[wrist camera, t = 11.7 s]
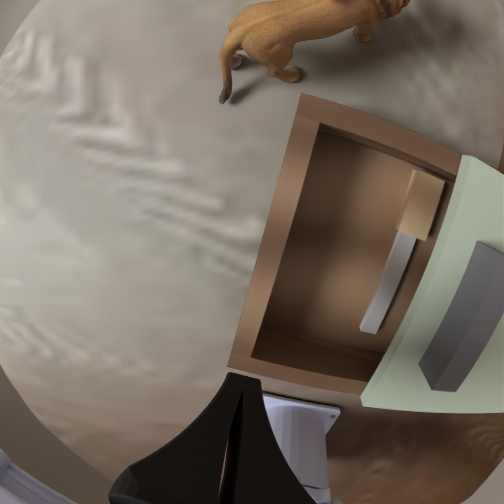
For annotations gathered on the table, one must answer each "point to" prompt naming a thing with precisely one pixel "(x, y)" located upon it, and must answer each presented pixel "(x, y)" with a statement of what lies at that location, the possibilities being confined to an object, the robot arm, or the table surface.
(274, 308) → the wooden box
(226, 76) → the lion figurine
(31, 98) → the table surface
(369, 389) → the lid
